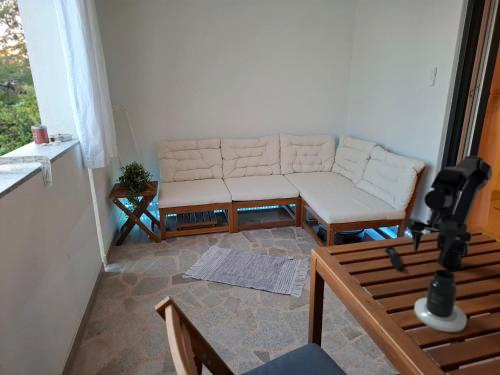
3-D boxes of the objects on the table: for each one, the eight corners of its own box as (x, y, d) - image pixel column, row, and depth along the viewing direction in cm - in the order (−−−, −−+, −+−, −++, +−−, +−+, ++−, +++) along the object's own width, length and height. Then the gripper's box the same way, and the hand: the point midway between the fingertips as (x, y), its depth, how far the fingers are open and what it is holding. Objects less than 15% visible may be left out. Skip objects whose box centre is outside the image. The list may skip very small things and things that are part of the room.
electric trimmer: (394, 273, 116) (395, 265, 115) (384, 251, 131) (385, 244, 130) (405, 273, 115) (406, 266, 114) (394, 252, 130) (394, 245, 129)
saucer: (445, 299, 100) (446, 295, 100) (477, 329, 88) (478, 324, 87) (405, 303, 99) (406, 298, 99) (431, 334, 87) (432, 329, 86)
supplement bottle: (458, 316, 91) (465, 279, 87) (435, 319, 90) (442, 282, 86) (441, 301, 97) (447, 266, 94) (420, 304, 96) (425, 268, 93)
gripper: (425, 208, 95) (410, 257, 98) (490, 221, 94) (473, 270, 97) (410, 200, 106) (397, 244, 109) (468, 212, 105) (453, 256, 108)
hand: (429, 254), depth 105 cm, fingers open, 9 cm apart
